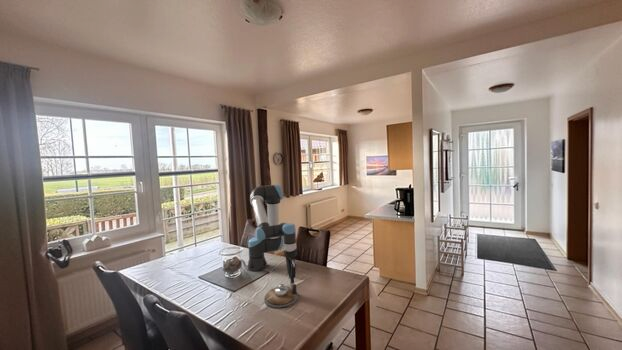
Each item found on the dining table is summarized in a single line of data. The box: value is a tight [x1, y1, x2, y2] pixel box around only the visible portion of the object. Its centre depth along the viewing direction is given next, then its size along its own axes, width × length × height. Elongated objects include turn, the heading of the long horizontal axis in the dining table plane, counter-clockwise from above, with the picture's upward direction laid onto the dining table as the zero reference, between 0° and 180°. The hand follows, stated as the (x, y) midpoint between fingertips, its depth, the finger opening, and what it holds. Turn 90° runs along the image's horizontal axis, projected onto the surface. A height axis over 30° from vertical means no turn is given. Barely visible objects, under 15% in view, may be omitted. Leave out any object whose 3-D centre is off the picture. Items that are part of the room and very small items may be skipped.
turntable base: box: [263, 292, 299, 309], centre depth 148 cm, size 20×20×1 cm
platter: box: [265, 283, 298, 305], centre depth 147 cm, size 18×18×6 cm
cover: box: [274, 283, 289, 297], centre depth 148 cm, size 8×8×5 cm
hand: (292, 287), depth 152 cm, fingers closed
